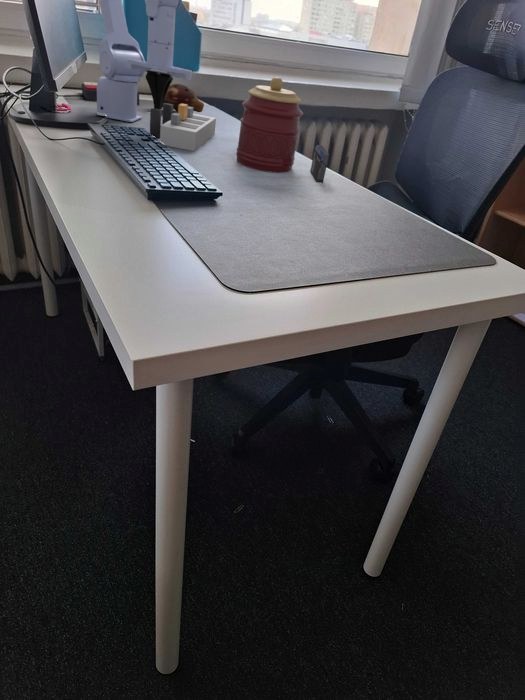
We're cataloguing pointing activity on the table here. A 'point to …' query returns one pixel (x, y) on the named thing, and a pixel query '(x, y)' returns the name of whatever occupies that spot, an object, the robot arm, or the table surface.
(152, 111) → the disc
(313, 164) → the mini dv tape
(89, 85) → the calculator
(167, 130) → the breaker panel
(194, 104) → the decorative turtle
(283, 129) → the canister
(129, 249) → the table surface
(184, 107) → the block
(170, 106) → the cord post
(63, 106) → the fitness band
